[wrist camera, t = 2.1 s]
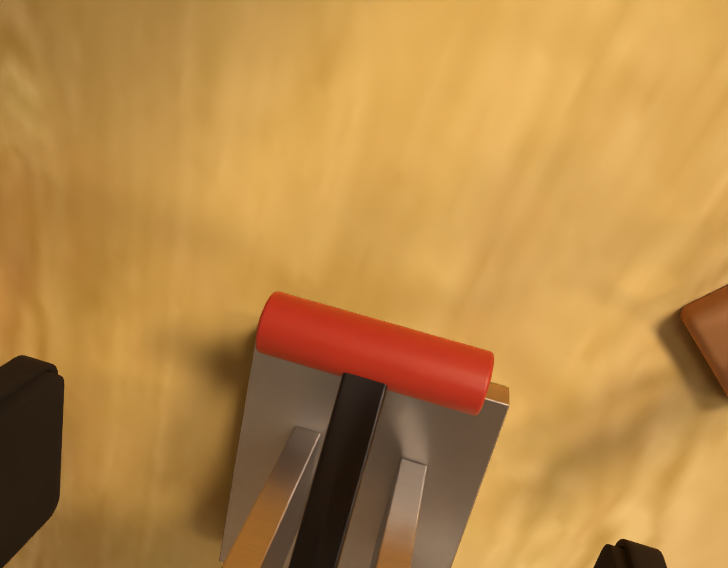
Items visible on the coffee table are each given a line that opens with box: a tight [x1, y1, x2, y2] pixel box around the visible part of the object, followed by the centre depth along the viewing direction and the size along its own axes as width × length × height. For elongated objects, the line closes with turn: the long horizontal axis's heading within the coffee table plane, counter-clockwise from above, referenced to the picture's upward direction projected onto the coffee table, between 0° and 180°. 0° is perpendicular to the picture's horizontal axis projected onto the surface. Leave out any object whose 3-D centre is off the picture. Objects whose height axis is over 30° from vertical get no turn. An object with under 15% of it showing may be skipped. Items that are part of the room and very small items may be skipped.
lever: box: [256, 292, 494, 568], centre depth 15 cm, size 12×6×2 cm, turn 167°
